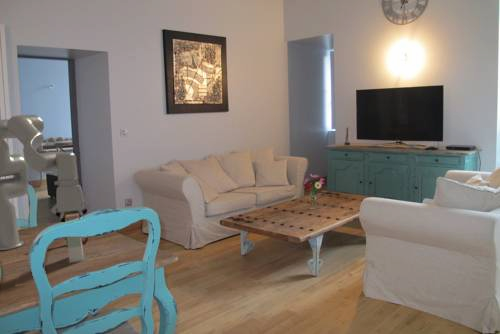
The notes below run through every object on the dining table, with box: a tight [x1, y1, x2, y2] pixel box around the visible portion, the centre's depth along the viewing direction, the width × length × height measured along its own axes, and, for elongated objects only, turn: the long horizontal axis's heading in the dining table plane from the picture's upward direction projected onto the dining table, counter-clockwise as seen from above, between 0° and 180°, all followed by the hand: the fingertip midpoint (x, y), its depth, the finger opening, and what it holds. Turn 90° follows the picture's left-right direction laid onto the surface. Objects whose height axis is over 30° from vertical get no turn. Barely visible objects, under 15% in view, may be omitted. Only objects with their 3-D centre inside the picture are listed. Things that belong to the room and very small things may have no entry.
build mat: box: [66, 253, 87, 264], centre depth 187 cm, size 9×7×1 cm
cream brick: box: [67, 243, 84, 264], centre depth 187 cm, size 8×5×6 cm, turn 19°
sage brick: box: [66, 237, 82, 249], centre depth 186 cm, size 8×5×6 cm, turn 19°
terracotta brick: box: [64, 212, 80, 221], centre depth 185 cm, size 8×5×6 cm, turn 19°
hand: (73, 226), depth 185 cm, fingers open, 5 cm apart
